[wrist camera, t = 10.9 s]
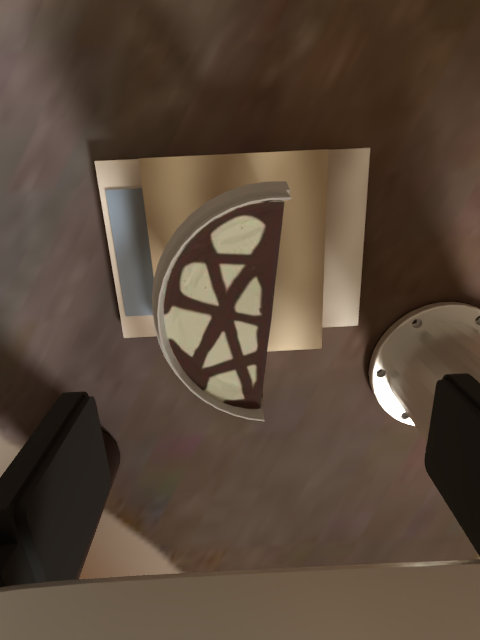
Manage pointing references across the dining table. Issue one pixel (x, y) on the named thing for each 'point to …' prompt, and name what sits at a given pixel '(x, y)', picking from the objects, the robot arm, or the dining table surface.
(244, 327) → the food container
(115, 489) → the dining table surface
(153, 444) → the dining table surface
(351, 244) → the build base
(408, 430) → the dining table surface
